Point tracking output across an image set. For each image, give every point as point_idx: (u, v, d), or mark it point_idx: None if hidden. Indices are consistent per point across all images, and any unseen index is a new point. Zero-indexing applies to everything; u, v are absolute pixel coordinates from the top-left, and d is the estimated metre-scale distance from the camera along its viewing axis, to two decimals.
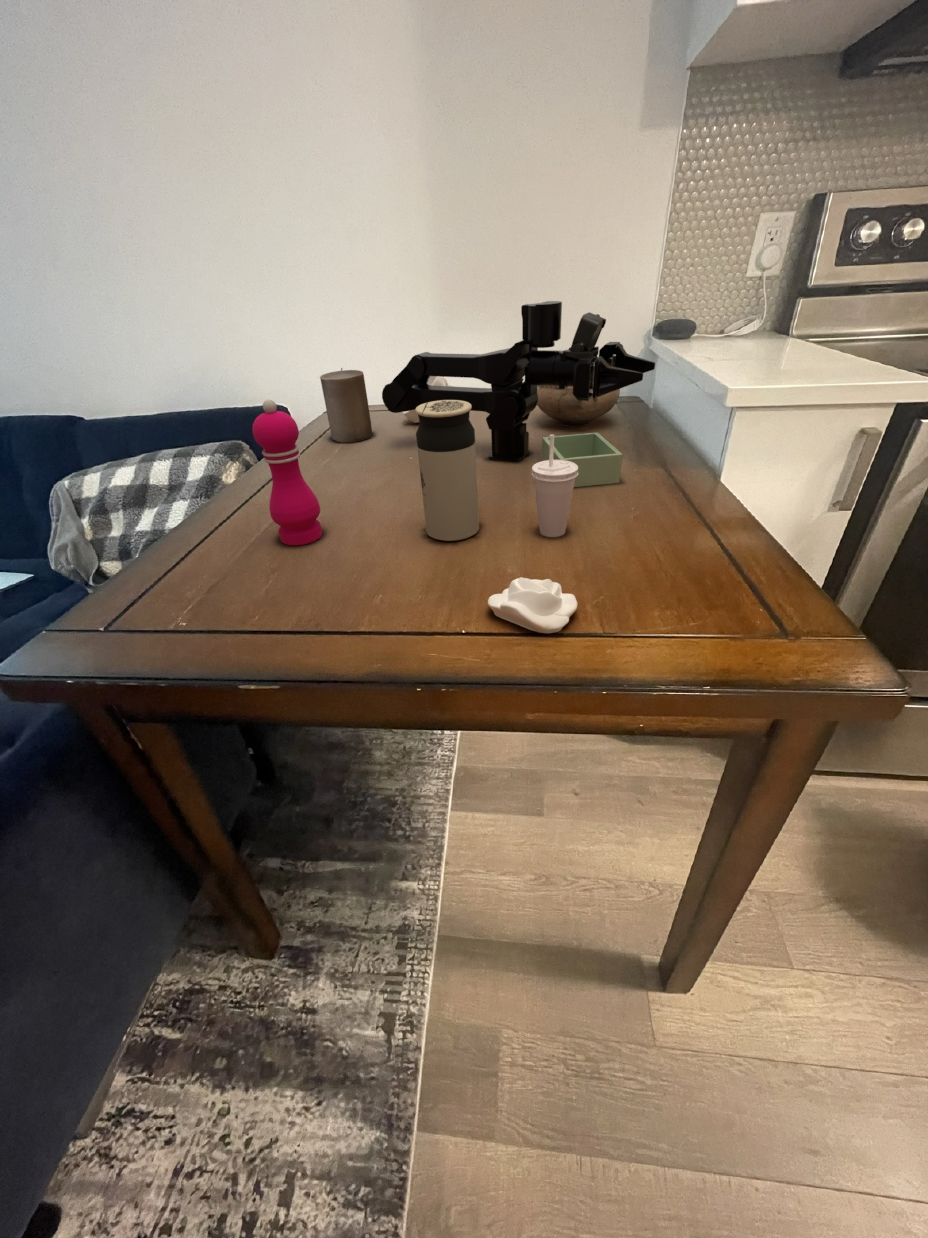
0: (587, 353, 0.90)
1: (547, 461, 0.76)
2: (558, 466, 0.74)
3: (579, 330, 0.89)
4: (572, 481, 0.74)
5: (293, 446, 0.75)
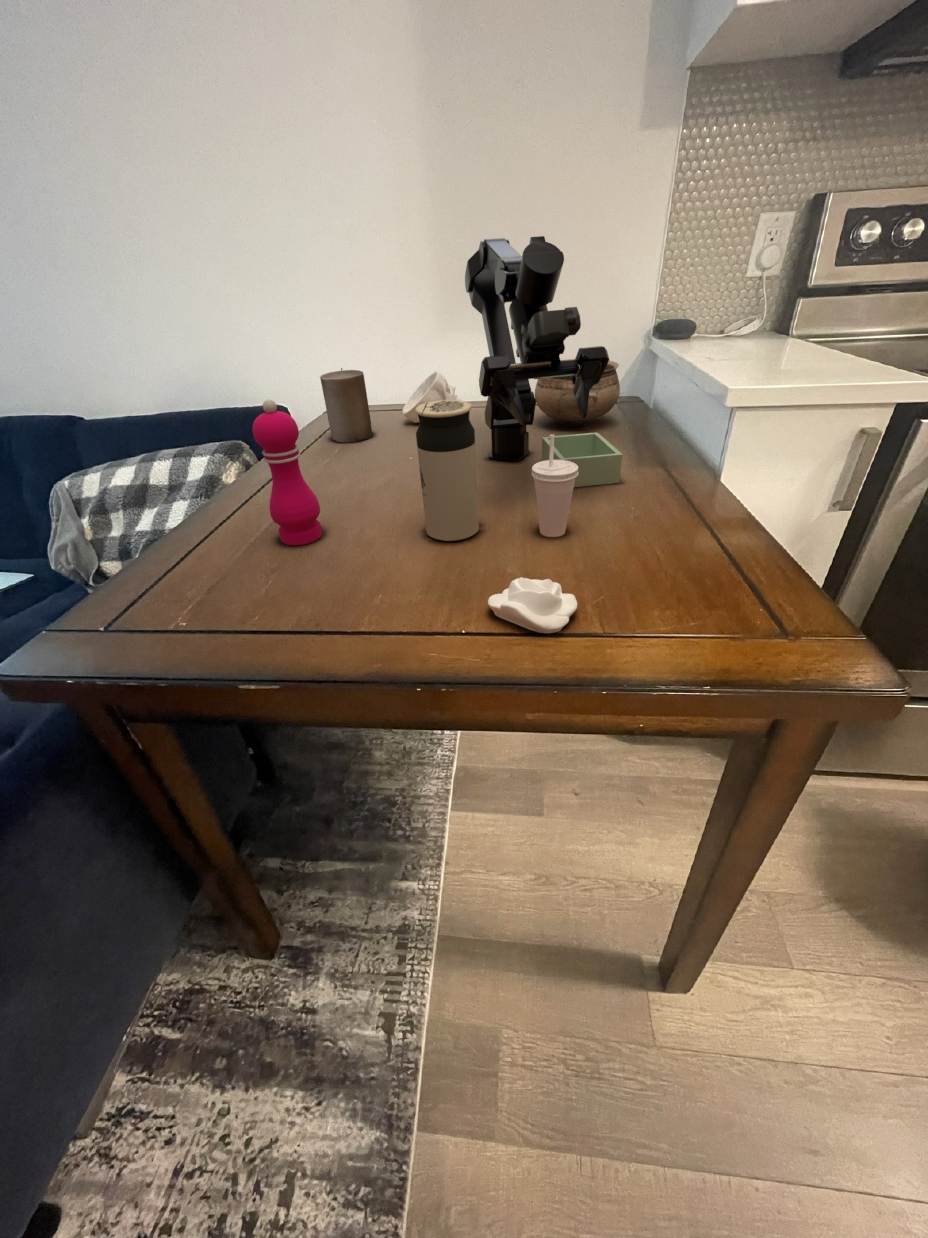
0: (525, 351, 0.78)
1: (547, 461, 0.76)
2: (558, 466, 0.74)
3: (531, 323, 0.75)
4: (572, 481, 0.74)
5: (293, 446, 0.75)
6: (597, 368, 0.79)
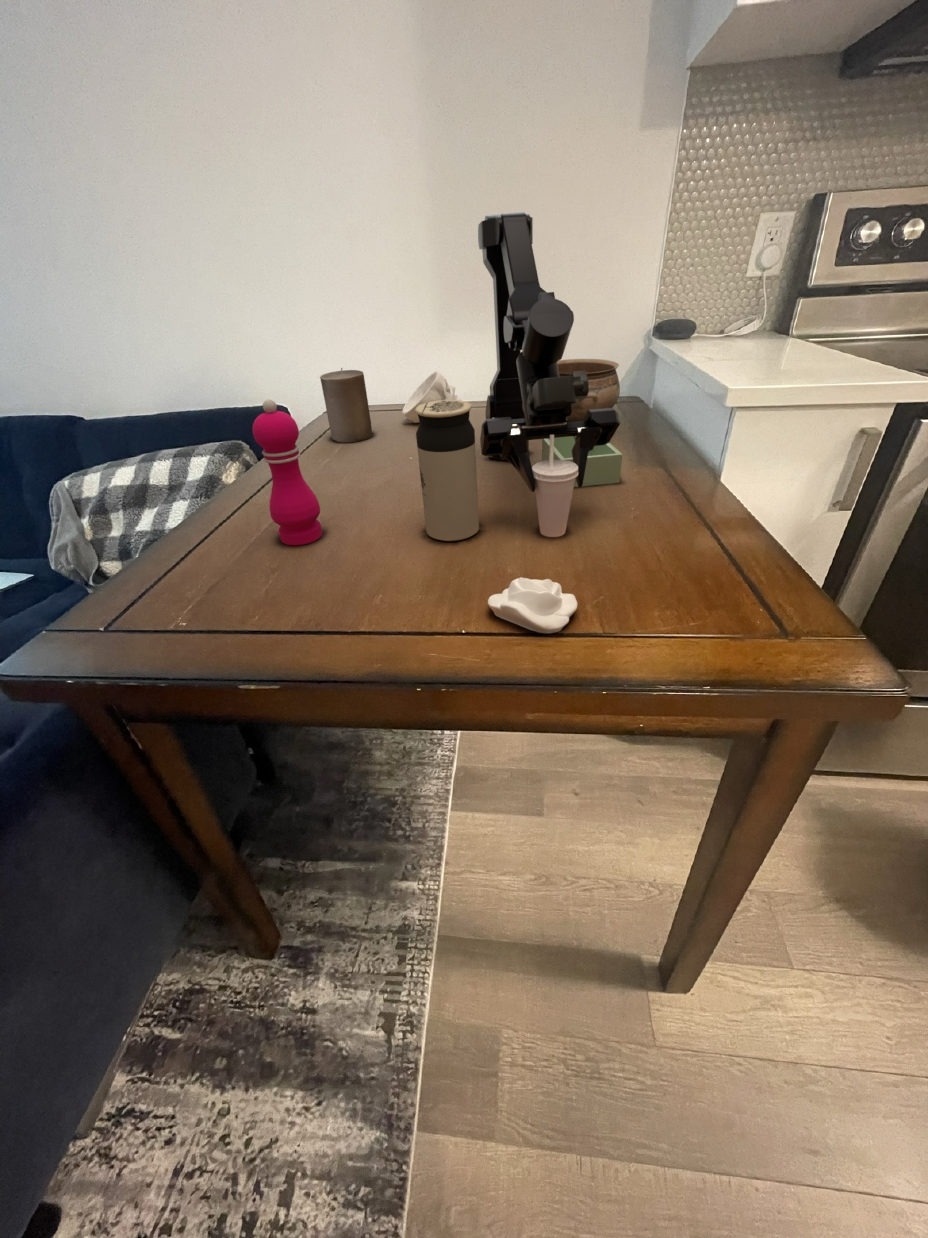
0: (529, 414, 0.73)
1: (547, 461, 0.76)
2: (558, 466, 0.74)
3: (535, 387, 0.70)
4: (572, 481, 0.74)
5: (293, 446, 0.75)
6: (597, 434, 0.74)
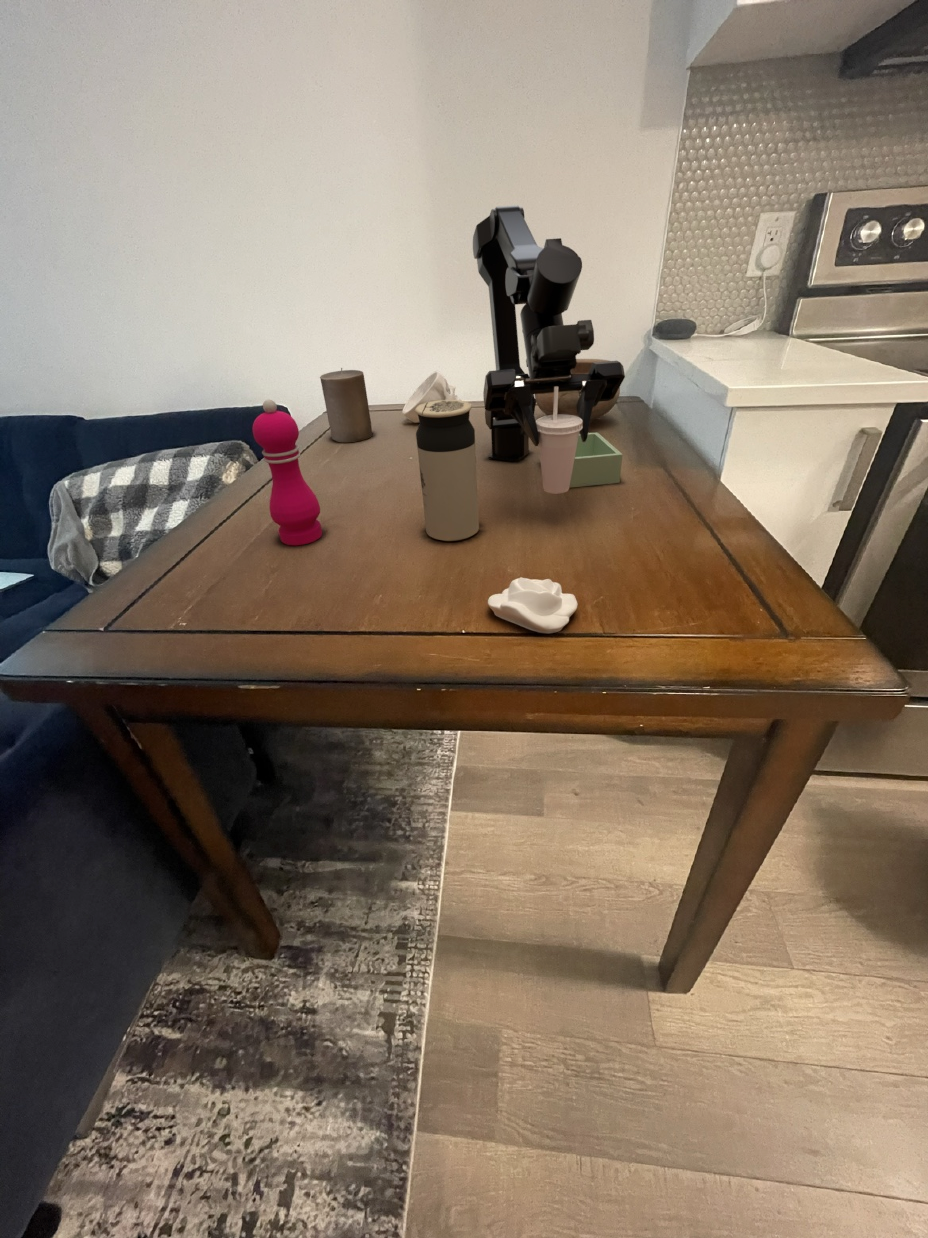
0: (533, 365, 0.72)
1: (551, 415, 0.75)
2: (562, 419, 0.73)
3: (539, 336, 0.69)
4: (576, 435, 0.73)
5: (293, 446, 0.75)
6: (602, 387, 0.73)
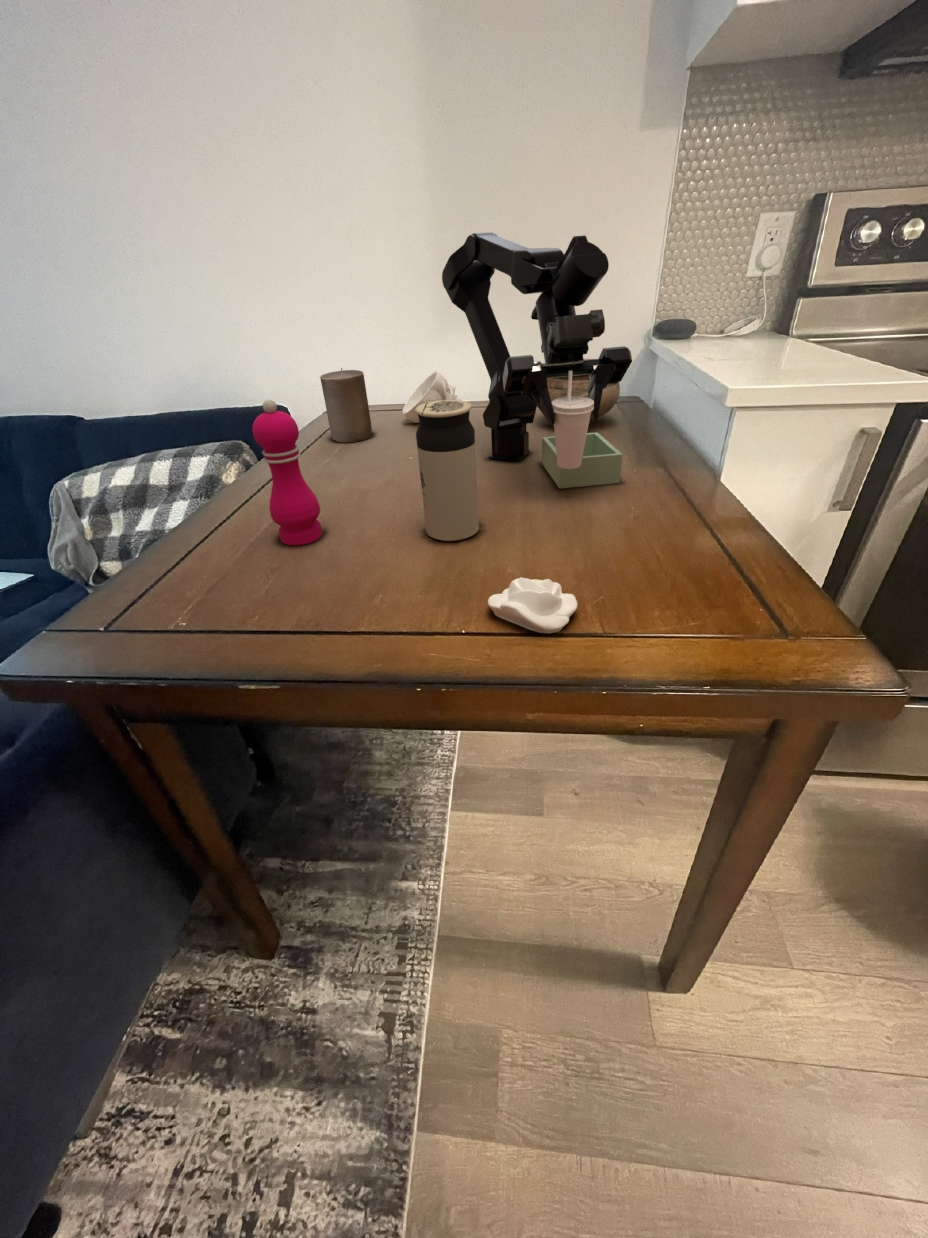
0: (549, 352, 0.80)
1: (565, 397, 0.83)
2: (575, 401, 0.81)
3: (555, 325, 0.77)
4: (588, 414, 0.80)
5: (293, 446, 0.75)
6: (611, 370, 0.81)
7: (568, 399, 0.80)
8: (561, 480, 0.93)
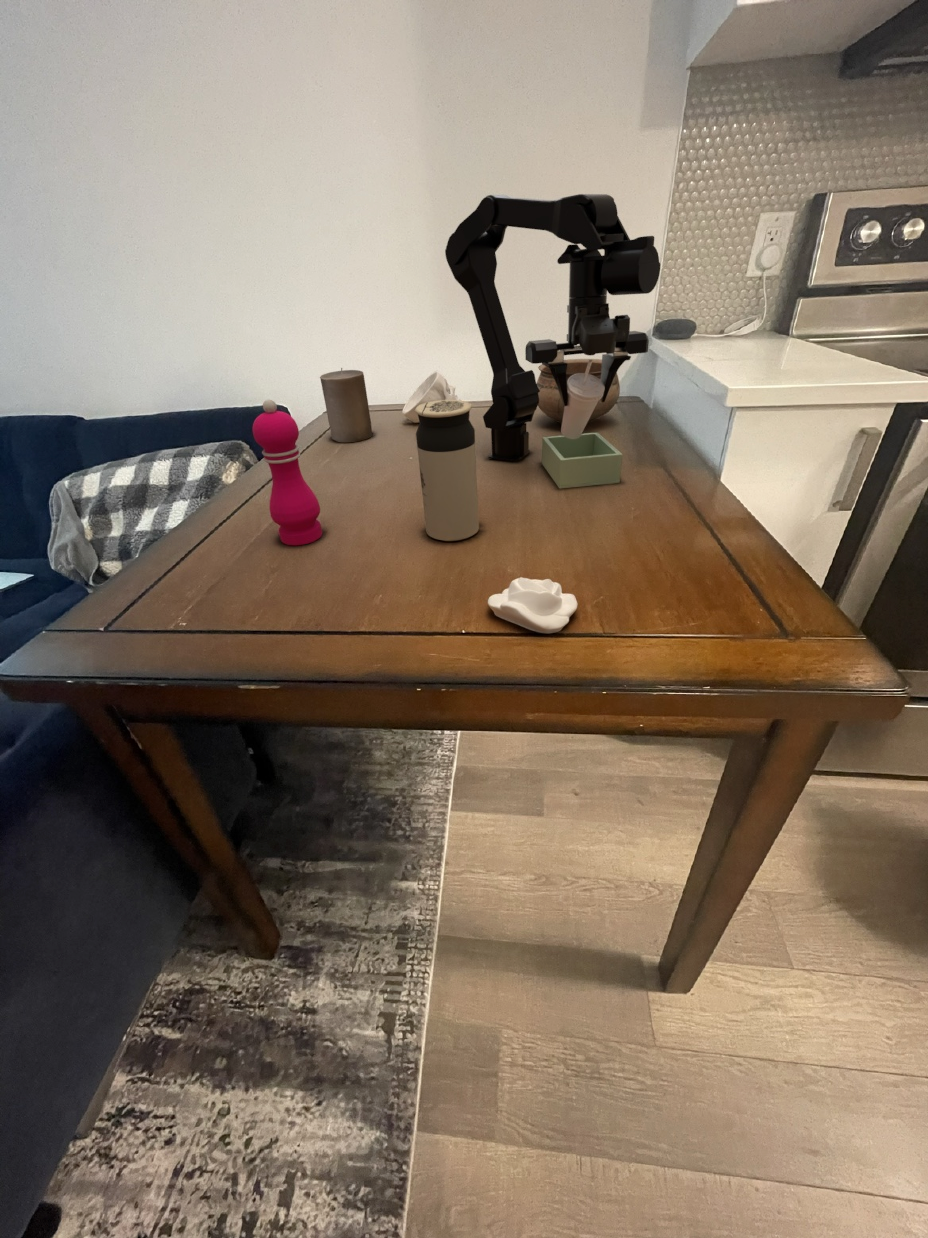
0: (573, 342, 0.84)
1: (579, 374, 0.91)
2: (589, 385, 0.89)
3: (583, 331, 0.80)
4: None
5: (293, 446, 0.75)
6: (626, 359, 0.87)
7: (583, 383, 0.89)
8: (561, 480, 0.93)
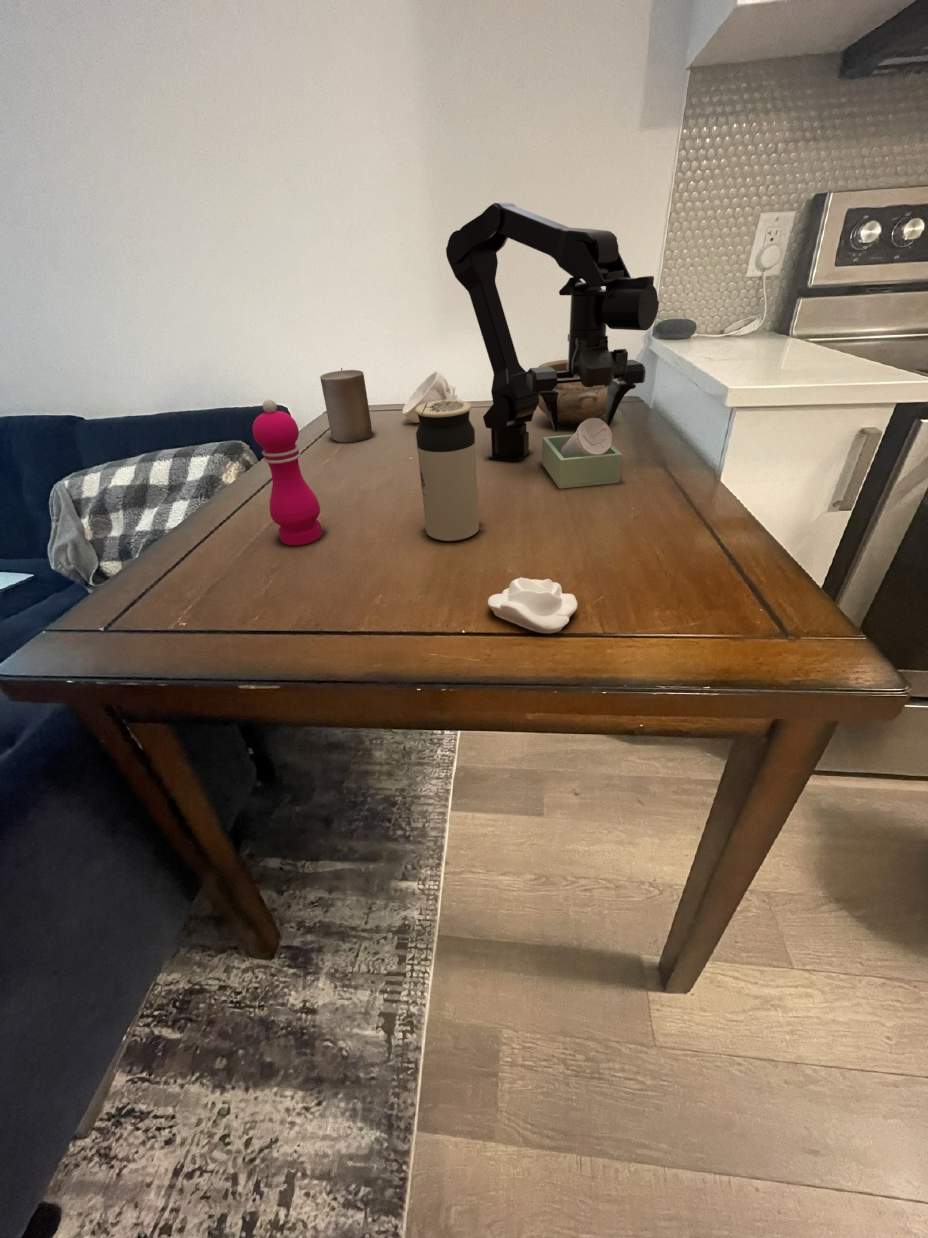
0: (572, 372, 0.87)
1: (592, 420, 0.91)
2: (598, 438, 0.91)
3: (582, 364, 0.83)
4: None
5: (293, 446, 0.75)
6: None
7: (593, 436, 0.91)
8: (561, 480, 0.93)
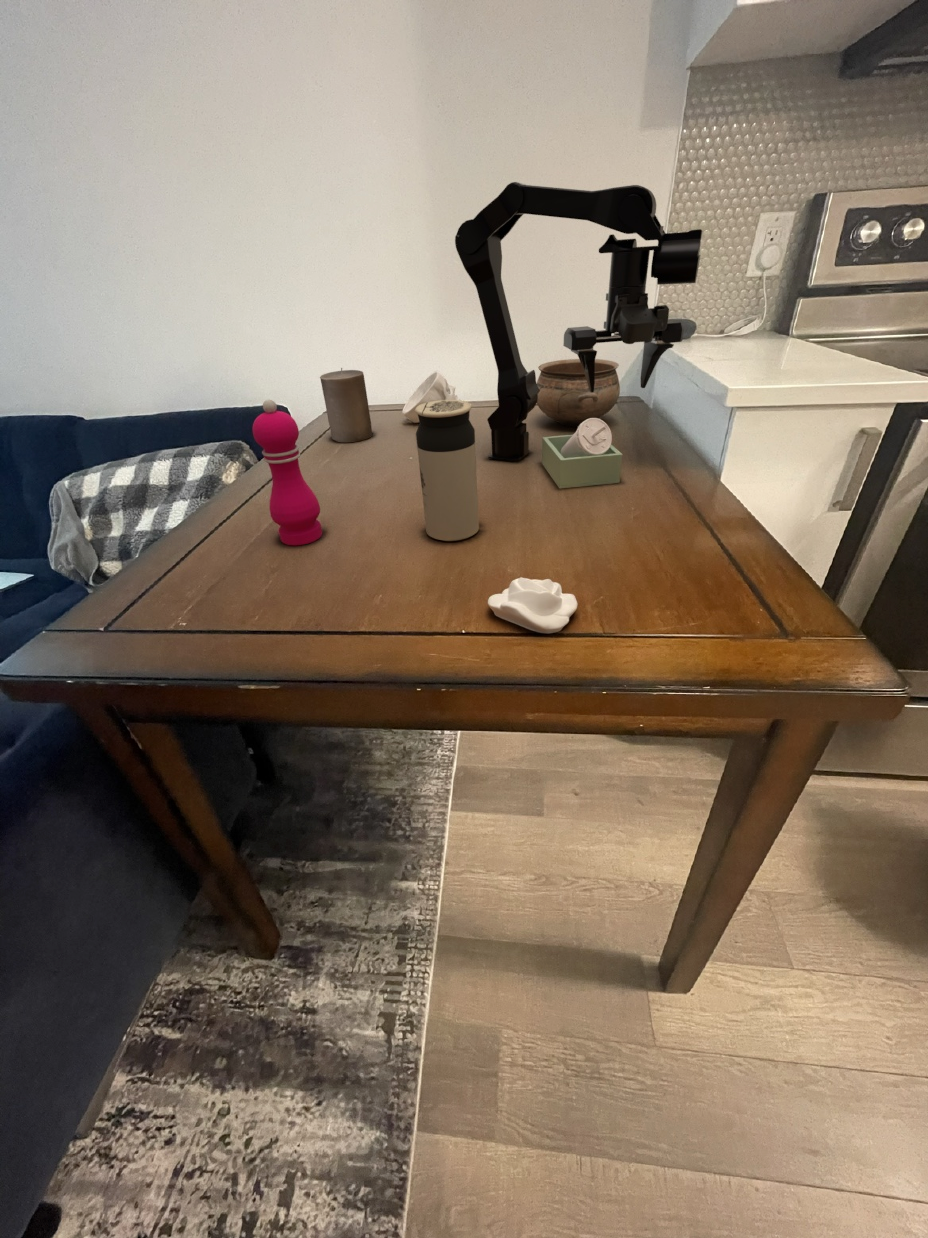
0: (612, 330, 0.87)
1: (592, 420, 0.91)
2: (598, 438, 0.91)
3: (623, 320, 0.84)
4: None
5: (293, 446, 0.75)
6: (668, 347, 0.90)
7: (593, 436, 0.91)
8: (561, 480, 0.93)
